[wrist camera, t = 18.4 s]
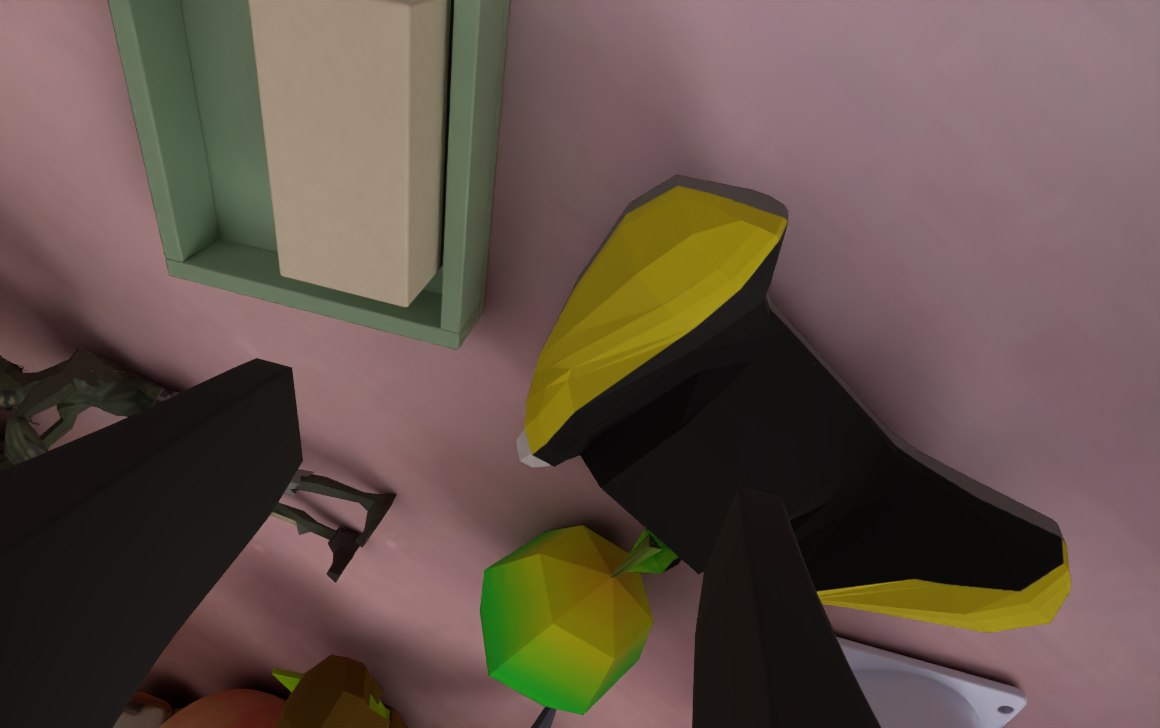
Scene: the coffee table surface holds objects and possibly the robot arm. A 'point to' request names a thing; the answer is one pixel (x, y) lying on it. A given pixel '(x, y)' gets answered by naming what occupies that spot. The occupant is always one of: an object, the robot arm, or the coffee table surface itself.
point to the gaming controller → (765, 425)
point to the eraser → (356, 139)
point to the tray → (240, 172)
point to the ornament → (145, 712)
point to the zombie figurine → (128, 394)
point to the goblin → (345, 698)
